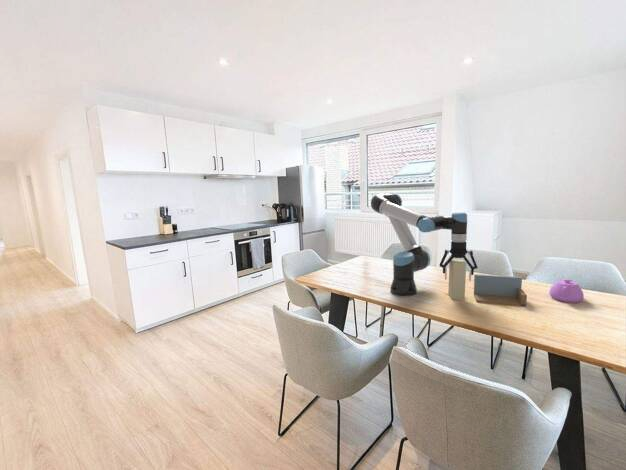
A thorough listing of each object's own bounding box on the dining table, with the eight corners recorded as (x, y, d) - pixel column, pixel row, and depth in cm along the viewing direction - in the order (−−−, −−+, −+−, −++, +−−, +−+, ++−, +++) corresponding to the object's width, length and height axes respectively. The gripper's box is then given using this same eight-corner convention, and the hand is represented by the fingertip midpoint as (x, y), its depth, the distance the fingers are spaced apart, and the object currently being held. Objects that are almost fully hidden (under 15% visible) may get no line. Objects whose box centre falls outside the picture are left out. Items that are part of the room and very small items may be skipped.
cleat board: (476, 302, 155) (477, 280, 154) (473, 294, 166) (474, 274, 164) (526, 306, 147) (527, 283, 145) (519, 298, 158) (521, 276, 156)
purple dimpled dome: (585, 296, 157) (587, 277, 155) (581, 307, 143) (583, 286, 142) (552, 290, 167) (553, 272, 165) (546, 300, 153) (547, 281, 152)
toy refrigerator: (466, 300, 159) (467, 262, 156) (451, 299, 160) (452, 262, 157) (462, 294, 166) (463, 259, 163) (448, 294, 168) (449, 259, 165)
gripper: (435, 241, 160) (434, 280, 163) (484, 242, 151) (483, 283, 154) (435, 239, 166) (434, 276, 170) (482, 240, 157) (481, 279, 161)
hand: (457, 279), depth 162 cm, fingers open, 11 cm apart
